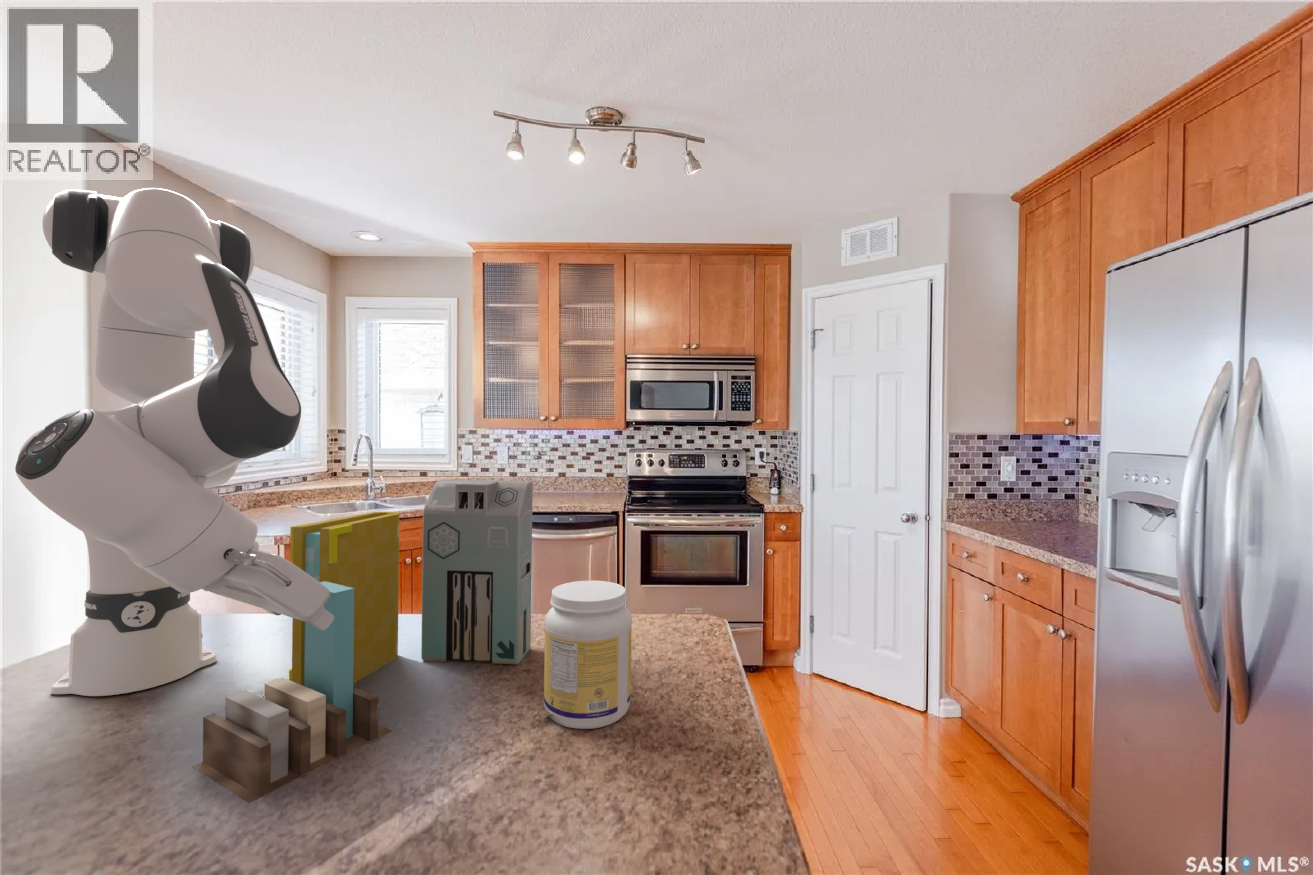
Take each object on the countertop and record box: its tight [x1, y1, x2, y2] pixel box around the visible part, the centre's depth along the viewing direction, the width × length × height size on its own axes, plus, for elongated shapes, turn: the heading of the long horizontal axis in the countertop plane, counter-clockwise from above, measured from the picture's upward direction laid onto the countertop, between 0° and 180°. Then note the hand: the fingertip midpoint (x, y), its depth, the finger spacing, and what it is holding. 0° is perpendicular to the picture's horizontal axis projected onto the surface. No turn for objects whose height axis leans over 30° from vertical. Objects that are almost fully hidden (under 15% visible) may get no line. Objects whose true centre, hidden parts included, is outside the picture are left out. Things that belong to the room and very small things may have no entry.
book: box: [288, 511, 400, 686], centre depth 87 cm, size 17×7×25 cm, turn 168°
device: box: [420, 478, 534, 665], centre depth 98 cm, size 16×8×30 cm, turn 87°
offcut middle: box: [263, 676, 326, 764], centre depth 66 cm, size 9×2×7 cm, turn 61°
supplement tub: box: [543, 580, 633, 730], centre depth 79 cm, size 12×12×17 cm
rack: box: [191, 686, 393, 804], centre depth 66 cm, size 12×16×6 cm
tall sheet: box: [305, 581, 354, 739], centre depth 69 cm, size 6×2×18 cm, turn 61°
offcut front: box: [224, 689, 289, 783], centre depth 62 cm, size 9×2×7 cm, turn 61°
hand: (303, 616), depth 67 cm, fingers open, 8 cm apart
